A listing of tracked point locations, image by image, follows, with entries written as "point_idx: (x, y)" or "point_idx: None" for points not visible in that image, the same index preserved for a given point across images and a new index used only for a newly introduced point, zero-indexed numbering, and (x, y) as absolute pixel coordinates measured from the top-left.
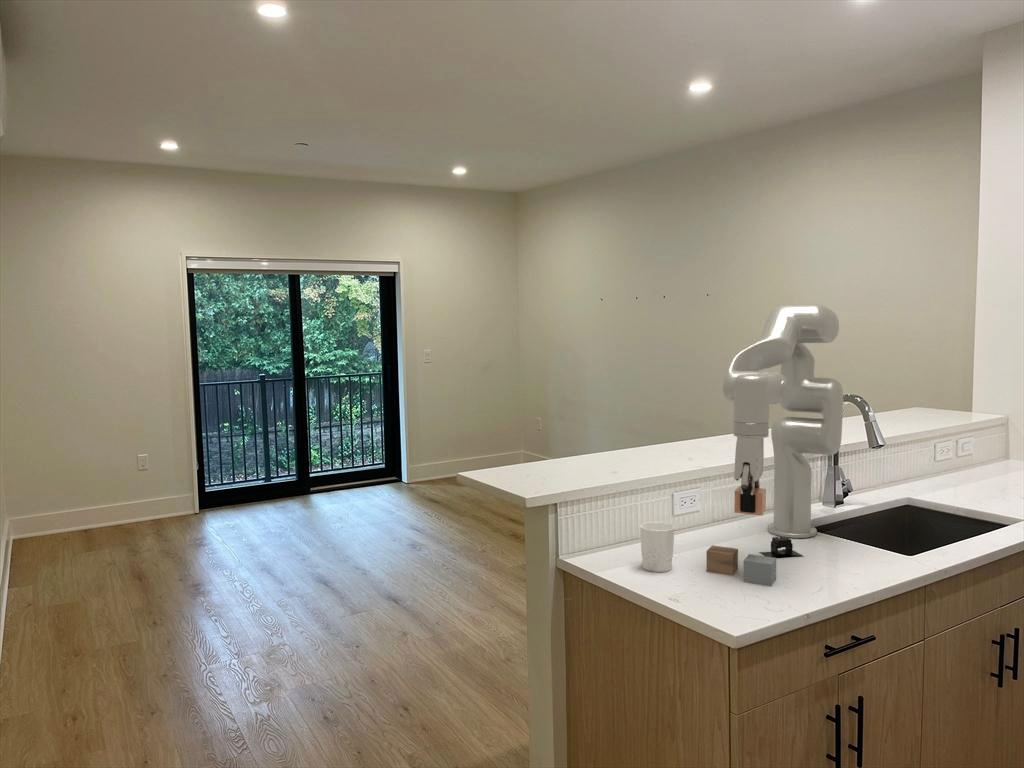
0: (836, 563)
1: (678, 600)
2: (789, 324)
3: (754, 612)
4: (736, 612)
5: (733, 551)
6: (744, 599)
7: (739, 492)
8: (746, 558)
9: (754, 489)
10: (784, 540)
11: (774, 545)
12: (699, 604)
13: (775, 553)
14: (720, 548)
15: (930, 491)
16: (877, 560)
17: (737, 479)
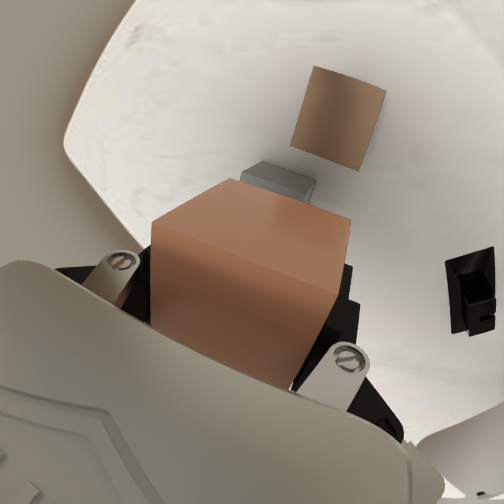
0: (402, 371)
1: (133, 43)
2: None
3: (119, 170)
4: (112, 143)
5: (325, 151)
6: (163, 156)
7: (155, 251)
8: (261, 182)
9: (235, 363)
10: (468, 321)
11: (475, 291)
12: (125, 80)
13: (466, 282)
14: (353, 113)
15: None
16: (407, 417)
17: (96, 295)
